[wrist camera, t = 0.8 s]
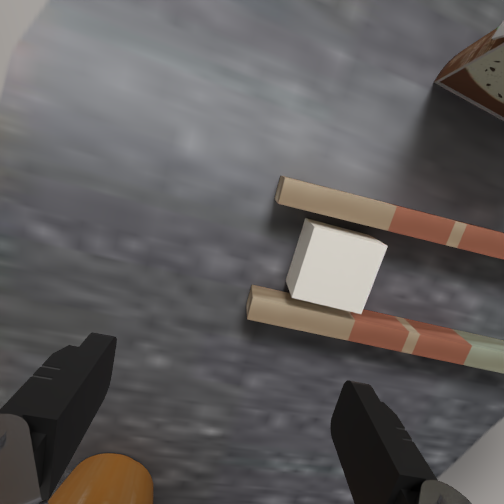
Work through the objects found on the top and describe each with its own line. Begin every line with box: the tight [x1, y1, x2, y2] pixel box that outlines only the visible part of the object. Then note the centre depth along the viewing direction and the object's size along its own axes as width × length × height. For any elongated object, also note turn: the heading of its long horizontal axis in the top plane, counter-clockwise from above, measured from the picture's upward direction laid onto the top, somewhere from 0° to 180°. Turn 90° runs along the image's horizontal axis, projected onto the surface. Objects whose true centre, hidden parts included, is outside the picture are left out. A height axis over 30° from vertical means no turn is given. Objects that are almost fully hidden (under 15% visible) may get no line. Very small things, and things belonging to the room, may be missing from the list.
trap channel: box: [247, 176, 504, 373], centre depth 29 cm, size 12×28×3 cm, turn 76°
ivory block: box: [286, 218, 388, 314], centre depth 28 cm, size 6×6×4 cm
